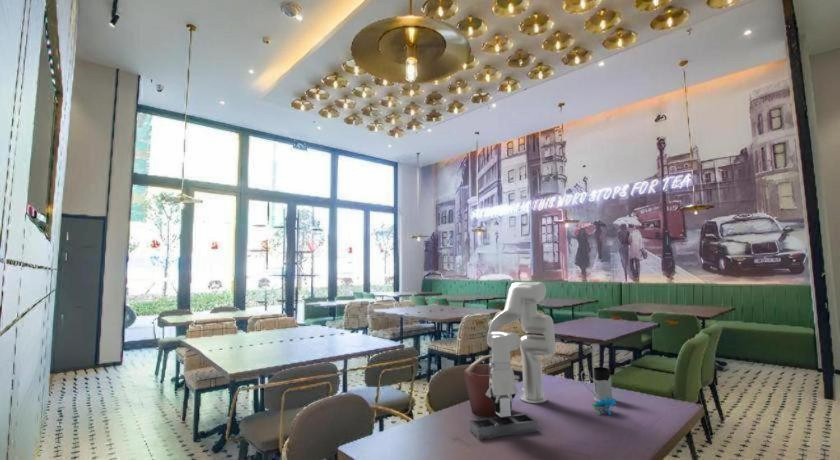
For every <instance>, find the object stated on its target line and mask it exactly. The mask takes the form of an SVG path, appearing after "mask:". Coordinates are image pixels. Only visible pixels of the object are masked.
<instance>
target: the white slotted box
mask: <svg viewBox="0 0 840 460" xmlns="http://www.w3.org/2000/svg"><path fill="white" fill-rule="evenodd" d="M498 403H499V412H500V413H497V412H496V414H497V415H499V416H500V417H505V416H511V414H512V409H510V397H508V396H506V395H504V396H499V399H498Z"/></svg>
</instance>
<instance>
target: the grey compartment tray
mask: <svg viewBox="0 0 840 460" xmlns="http://www.w3.org/2000/svg"><path fill="white" fill-rule="evenodd" d="M538 422H539V420H537V419H536V418H534V417H533V416H532V415H531V416H530V415H529V414H528V413H519V414H513V415H511V416H505V417H486V418H480V419H472V420H469V431H470V433H472V432H473V433H474V434H475V435H476V436H477V437H478V438H479V439H481V438H488V439H491V438H490V437H495V438H497V437H496V436H502V437H505V436H504V435H509V436H514V435H513V434H516V435H522V434H521V433H523V434H529V433H528V432H530V433H537V432H539V423H538ZM473 433H472V434H473ZM474 434H473V435H474ZM475 435H474V436H475ZM476 436H475V437H476ZM477 437H476V438H477ZM478 438H477V439H478ZM479 439H478V440H479ZM481 440H482V439H481Z"/></svg>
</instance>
